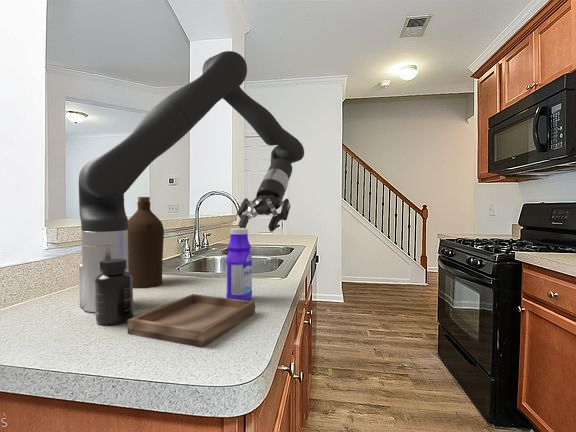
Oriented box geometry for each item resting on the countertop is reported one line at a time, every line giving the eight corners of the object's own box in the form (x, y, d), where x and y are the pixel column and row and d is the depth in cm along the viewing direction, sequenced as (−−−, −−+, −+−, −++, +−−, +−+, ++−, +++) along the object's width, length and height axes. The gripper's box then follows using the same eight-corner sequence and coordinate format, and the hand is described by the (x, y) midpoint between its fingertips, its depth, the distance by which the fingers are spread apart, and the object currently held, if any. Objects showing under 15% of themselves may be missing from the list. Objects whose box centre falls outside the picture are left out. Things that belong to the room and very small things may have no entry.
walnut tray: (127, 333, 63) (127, 319, 62) (192, 304, 80) (192, 293, 80) (203, 347, 57) (202, 332, 57) (255, 313, 75) (255, 301, 74)
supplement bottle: (123, 312, 74) (123, 256, 74) (139, 319, 70) (139, 260, 70) (89, 320, 69) (88, 260, 69) (104, 328, 65) (103, 264, 64)
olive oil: (172, 282, 103) (171, 197, 102) (145, 290, 93) (144, 196, 92) (144, 278, 107) (143, 197, 106) (115, 286, 97) (114, 196, 96)
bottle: (245, 305, 80) (245, 229, 80) (222, 303, 81) (222, 229, 81) (254, 296, 87) (255, 227, 87) (233, 295, 89) (233, 227, 88)
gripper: (247, 178, 102) (227, 218, 92) (293, 177, 97) (276, 220, 87) (255, 196, 108) (236, 237, 97) (299, 196, 102) (284, 239, 92)
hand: (255, 229), depth 92 cm, fingers open, 8 cm apart
